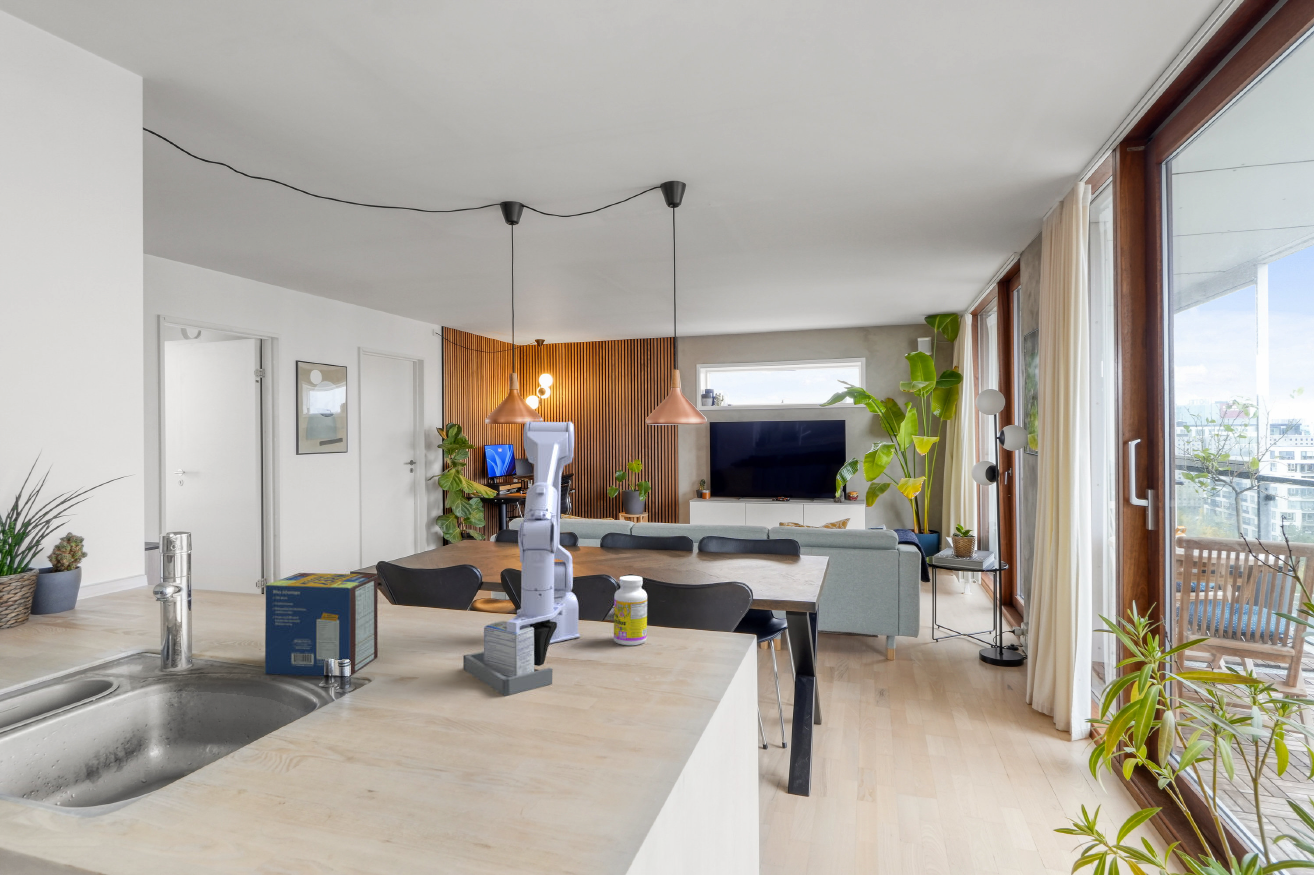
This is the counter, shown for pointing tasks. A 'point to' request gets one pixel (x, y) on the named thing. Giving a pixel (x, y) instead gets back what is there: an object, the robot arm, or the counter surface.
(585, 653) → the counter surface
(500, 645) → the medicine box
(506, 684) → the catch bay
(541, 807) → the counter surface
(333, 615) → the protein box
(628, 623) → the supplement bottle
